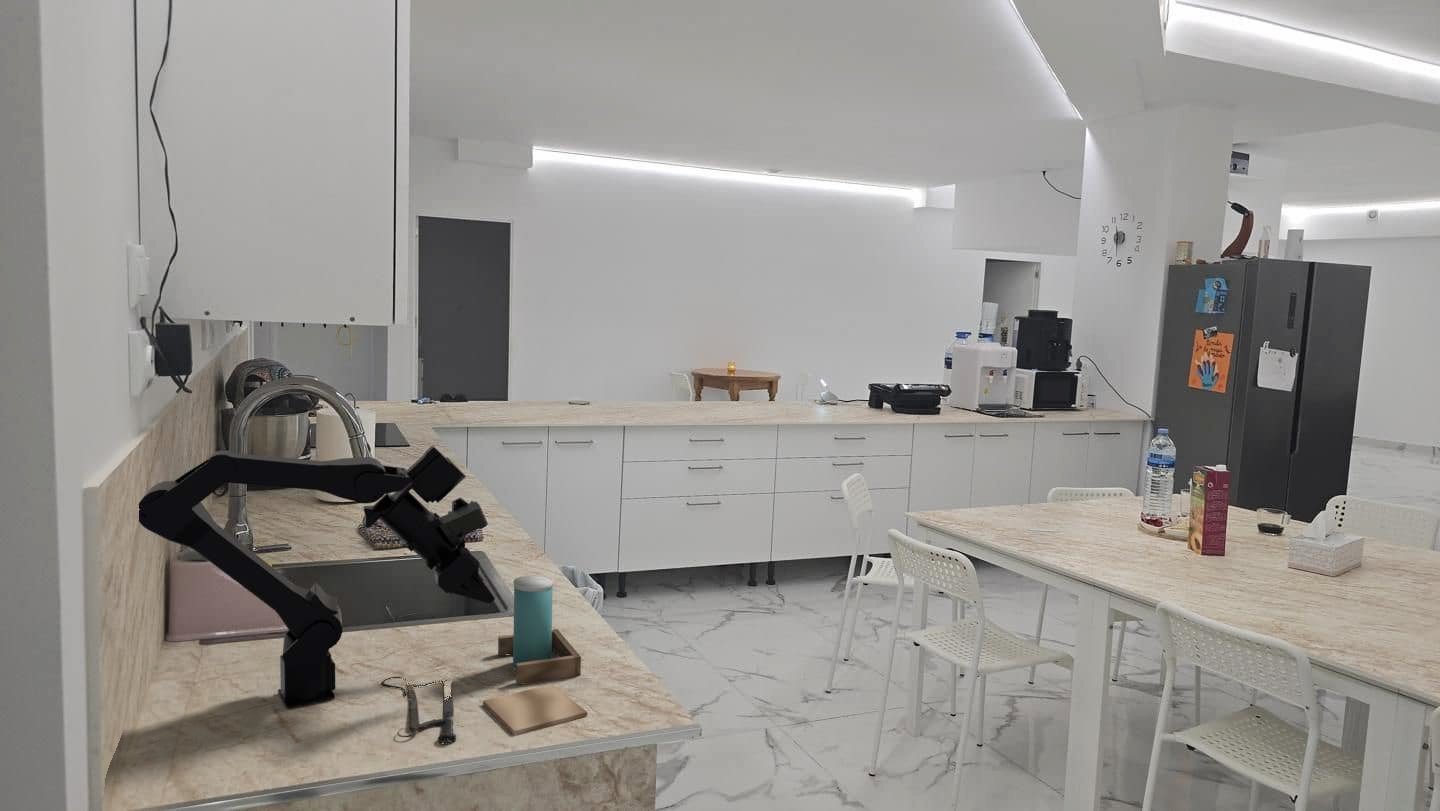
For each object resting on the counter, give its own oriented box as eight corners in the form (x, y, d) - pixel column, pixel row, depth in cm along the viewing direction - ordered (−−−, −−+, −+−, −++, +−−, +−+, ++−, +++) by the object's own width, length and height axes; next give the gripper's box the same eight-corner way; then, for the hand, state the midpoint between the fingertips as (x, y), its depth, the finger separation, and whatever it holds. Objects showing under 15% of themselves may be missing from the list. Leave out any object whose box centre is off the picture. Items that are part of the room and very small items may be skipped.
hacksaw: (456, 747, 120) (456, 736, 120) (372, 756, 117) (372, 745, 117) (452, 674, 143) (452, 665, 143) (381, 680, 140) (381, 671, 139)
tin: (522, 676, 142) (523, 589, 141) (506, 662, 147) (507, 578, 146) (558, 668, 146) (560, 583, 144) (541, 655, 151) (543, 572, 149)
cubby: (517, 684, 139) (517, 665, 139) (498, 654, 151) (498, 636, 150) (580, 675, 143) (581, 656, 143) (557, 646, 155) (557, 628, 155)
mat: (514, 735, 123) (514, 730, 123) (483, 704, 132) (483, 700, 132) (587, 715, 130) (587, 711, 130) (552, 687, 138) (552, 684, 138)
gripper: (466, 499, 129) (539, 570, 135) (446, 474, 146) (512, 539, 152) (405, 556, 126) (483, 627, 132) (392, 524, 143) (461, 588, 149)
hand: (486, 591), depth 141 cm, fingers open, 9 cm apart
